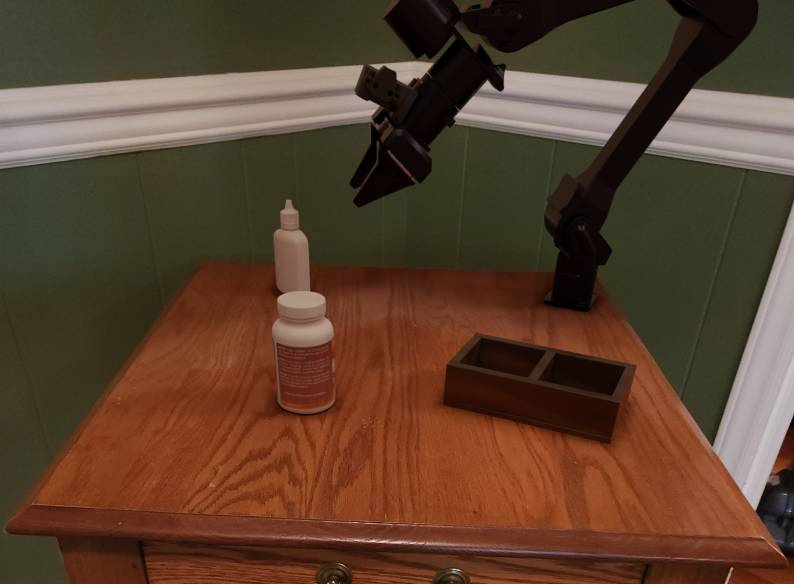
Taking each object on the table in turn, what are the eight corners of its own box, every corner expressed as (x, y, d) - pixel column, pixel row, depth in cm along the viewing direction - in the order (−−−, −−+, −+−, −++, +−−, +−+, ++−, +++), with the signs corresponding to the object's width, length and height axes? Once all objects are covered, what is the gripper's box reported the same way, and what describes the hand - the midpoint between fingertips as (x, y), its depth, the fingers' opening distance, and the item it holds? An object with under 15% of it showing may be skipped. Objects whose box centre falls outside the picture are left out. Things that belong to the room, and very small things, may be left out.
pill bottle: (346, 407, 76) (345, 303, 70) (294, 421, 74) (287, 315, 67) (317, 384, 80) (314, 283, 74) (267, 397, 78) (258, 294, 71)
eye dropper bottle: (305, 283, 105) (302, 194, 98) (311, 297, 101) (308, 205, 94) (275, 285, 105) (269, 195, 97) (280, 299, 100) (274, 206, 93)
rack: (471, 370, 84) (476, 332, 82) (626, 404, 79) (637, 364, 76) (442, 404, 78) (446, 364, 75) (609, 444, 72) (620, 402, 69)
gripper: (387, 28, 89) (304, 132, 95) (404, 41, 75) (304, 162, 81) (448, 101, 95) (366, 195, 101) (474, 126, 80) (376, 234, 86)
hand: (353, 195), depth 92 cm, fingers open, 9 cm apart
